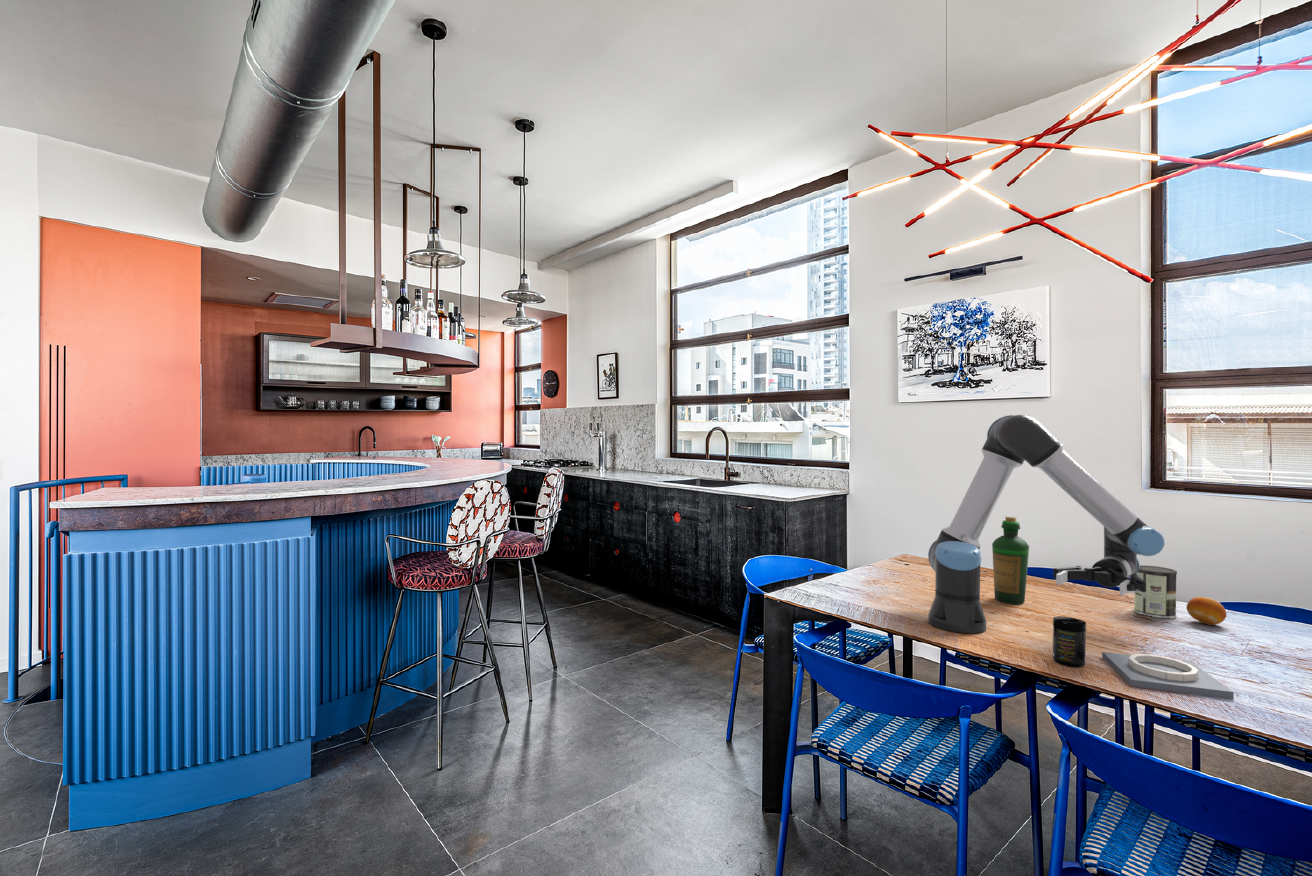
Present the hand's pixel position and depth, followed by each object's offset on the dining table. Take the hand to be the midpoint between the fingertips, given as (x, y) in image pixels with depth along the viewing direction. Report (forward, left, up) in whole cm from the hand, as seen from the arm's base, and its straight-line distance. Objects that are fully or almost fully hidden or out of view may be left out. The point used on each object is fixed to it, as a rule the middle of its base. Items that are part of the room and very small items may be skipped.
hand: (1088, 584), depth 154 cm
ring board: (+11, -12, -17) cm, 24 cm away
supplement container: (-7, -10, -18) cm, 21 cm away
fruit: (+41, +40, -18) cm, 60 cm away
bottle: (-9, +46, -18) cm, 50 cm away
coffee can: (+31, +47, -18) cm, 59 cm away
